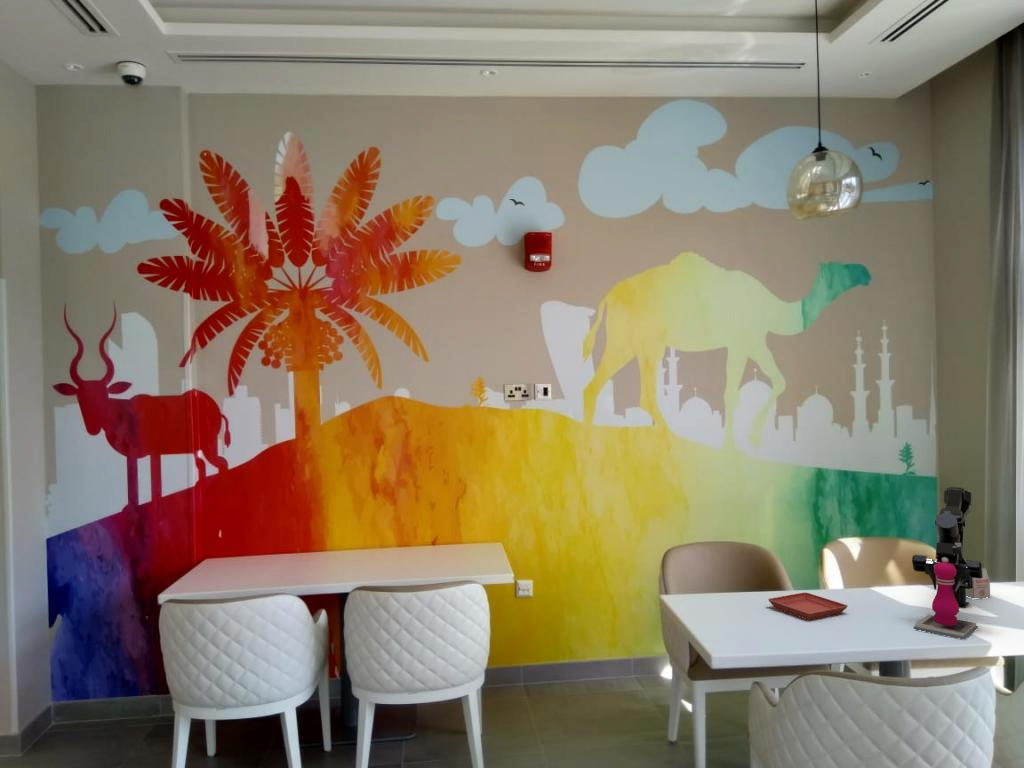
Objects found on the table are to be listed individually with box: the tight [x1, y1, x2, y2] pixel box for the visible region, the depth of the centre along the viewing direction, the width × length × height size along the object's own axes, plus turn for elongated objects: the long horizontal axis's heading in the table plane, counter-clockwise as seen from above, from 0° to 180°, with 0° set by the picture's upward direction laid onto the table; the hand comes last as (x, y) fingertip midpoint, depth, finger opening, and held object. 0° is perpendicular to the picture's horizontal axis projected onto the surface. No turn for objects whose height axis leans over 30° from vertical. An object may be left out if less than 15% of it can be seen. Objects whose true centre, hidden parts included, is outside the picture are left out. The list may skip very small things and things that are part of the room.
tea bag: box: [966, 567, 991, 598], centre depth 270 cm, size 4×7×10 cm, turn 101°
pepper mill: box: [931, 557, 960, 626], centre depth 236 cm, size 7×7×20 cm
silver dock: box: [912, 614, 979, 640], centre depth 236 cm, size 14×14×2 cm
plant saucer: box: [767, 591, 849, 620], centre depth 257 cm, size 18×18×3 cm
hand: (944, 590), depth 235 cm, fingers closed on pepper mill, 5 cm apart
